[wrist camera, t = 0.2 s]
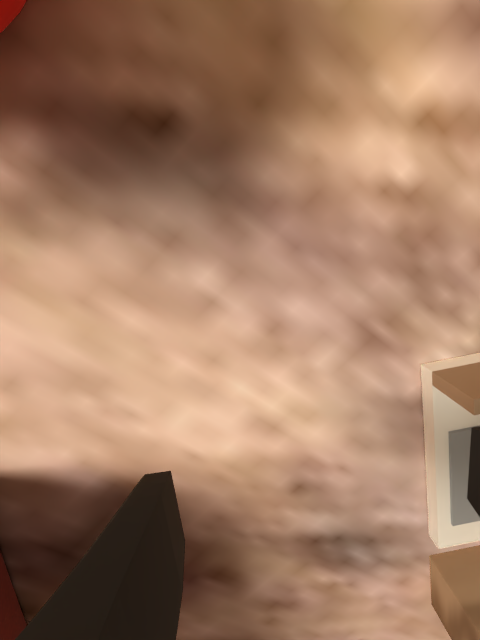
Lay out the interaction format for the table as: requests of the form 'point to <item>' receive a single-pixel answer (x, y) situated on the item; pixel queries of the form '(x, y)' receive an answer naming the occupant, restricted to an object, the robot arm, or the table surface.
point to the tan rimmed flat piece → (450, 446)
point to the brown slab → (457, 591)
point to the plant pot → (9, 607)
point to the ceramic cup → (9, 11)
